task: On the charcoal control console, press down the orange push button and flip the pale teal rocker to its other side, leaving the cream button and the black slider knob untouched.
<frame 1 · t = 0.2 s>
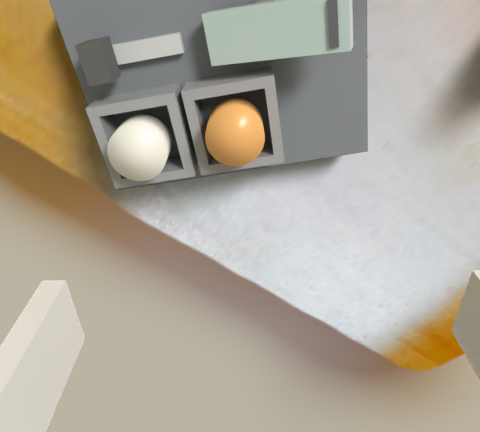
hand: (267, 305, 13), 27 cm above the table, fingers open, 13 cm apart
rocker: (275, 30, 27), point 7 cm above the table, hinge at 20.0°
button a: (140, 147, 31), point 8 cm above the table, slide at 0.0 cm
panel: (224, 71, 36), on the table
button b: (235, 131, 31), point 8 cm above the table, slide at 0.0 cm
slider: (99, 61, 29), point 6 cm above the table, slide at 0.0 cm
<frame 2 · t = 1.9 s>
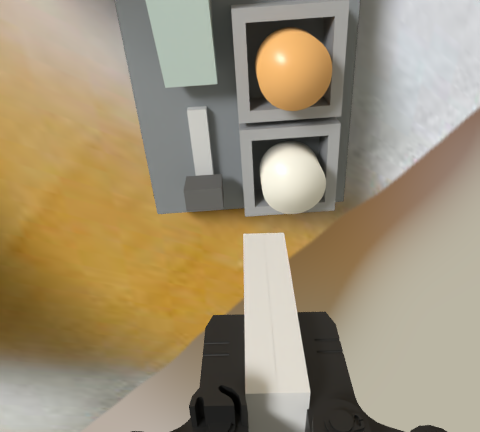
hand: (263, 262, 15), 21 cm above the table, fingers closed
rocker: (179, 4, 23), point 7 cm above the table, hinge at 20.0°
button a: (291, 177, 29), point 8 cm above the table, slide at 0.0 cm
panel: (240, 57, 32), on the table
button b: (291, 68, 25), point 8 cm above the table, slide at 0.0 cm
slider: (204, 192, 31), point 6 cm above the table, slide at 0.0 cm
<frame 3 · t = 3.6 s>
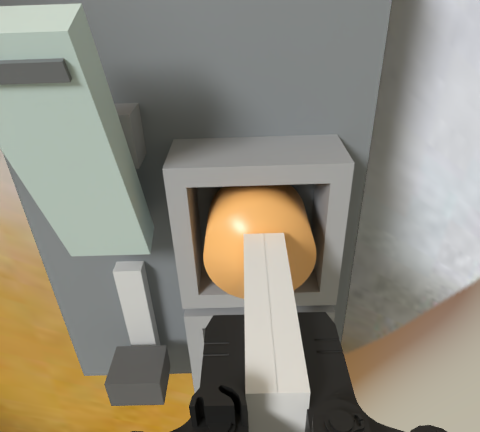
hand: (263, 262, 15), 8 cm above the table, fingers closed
rocker: (74, 162, 14), point 7 cm above the table, hinge at 20.0°
panel: (200, 180, 23), on the table
button b: (258, 236, 17), point 6 cm above the table, slide at 1.3 cm, touching gripper
slider: (139, 374, 22), point 6 cm above the table, slide at 0.0 cm
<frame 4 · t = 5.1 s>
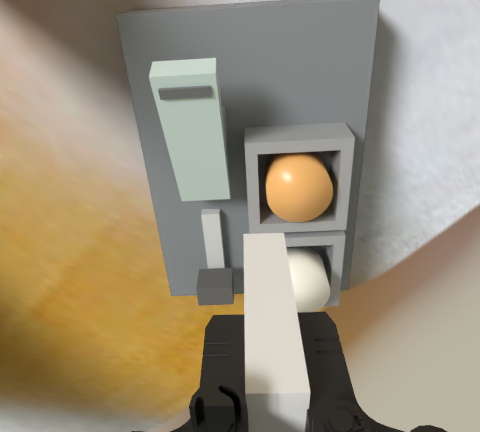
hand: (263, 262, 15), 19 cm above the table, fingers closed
rocker: (196, 140, 25), point 7 cm above the table, hinge at 20.0°
button a: (297, 280, 31), point 8 cm above the table, slide at 0.0 cm
panel: (252, 157, 34), on the table
button b: (297, 184, 28), point 6 cm above the table, slide at 1.5 cm
slider: (215, 286, 33), point 6 cm above the table, slide at 0.0 cm
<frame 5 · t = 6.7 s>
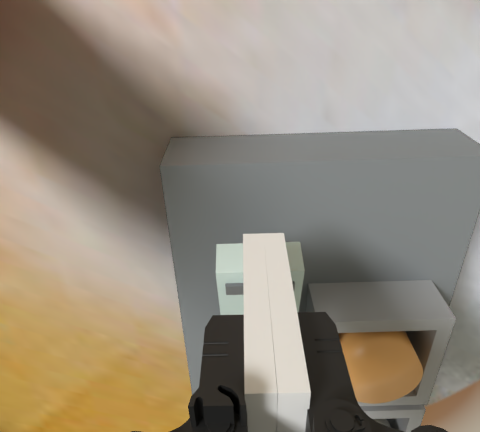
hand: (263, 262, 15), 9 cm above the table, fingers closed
rocker: (258, 321, 20), point 7 cm above the table, hinge at 15.1°, touching gripper
panel: (303, 290, 28), on the table
button b: (372, 355, 23), point 6 cm above the table, slide at 1.5 cm
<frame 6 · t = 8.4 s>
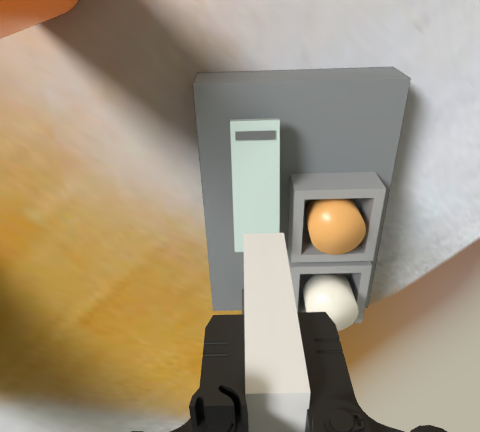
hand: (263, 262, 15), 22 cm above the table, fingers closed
rocker: (255, 187, 30), point 7 cm above the table, hinge at -13.3°
button a: (329, 301, 36), point 8 cm above the table, slide at 0.0 cm
panel: (290, 193, 39), on the table
button b: (334, 222, 33), point 6 cm above the table, slide at 1.5 cm
slider: (256, 304, 38), point 6 cm above the table, slide at 0.0 cm
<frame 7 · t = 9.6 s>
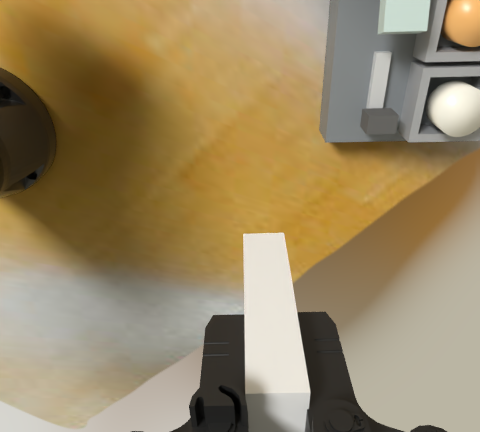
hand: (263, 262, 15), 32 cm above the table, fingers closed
button a: (456, 108, 37), point 8 cm above the table, slide at 0.0 cm
panel: (408, 16, 40), on the table
button b: (471, 16, 34), point 6 cm above the table, slide at 1.5 cm
slider: (378, 121, 39), point 6 cm above the table, slide at 0.0 cm
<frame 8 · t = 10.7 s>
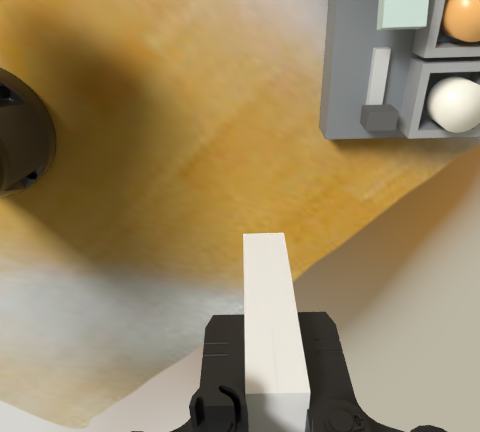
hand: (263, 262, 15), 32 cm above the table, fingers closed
button a: (456, 104, 37), point 8 cm above the table, slide at 0.0 cm
panel: (407, 13, 40), on the table
button b: (470, 11, 34), point 6 cm above the table, slide at 1.5 cm
slider: (378, 117, 39), point 6 cm above the table, slide at 0.0 cm
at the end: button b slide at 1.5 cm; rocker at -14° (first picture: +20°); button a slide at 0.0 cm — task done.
